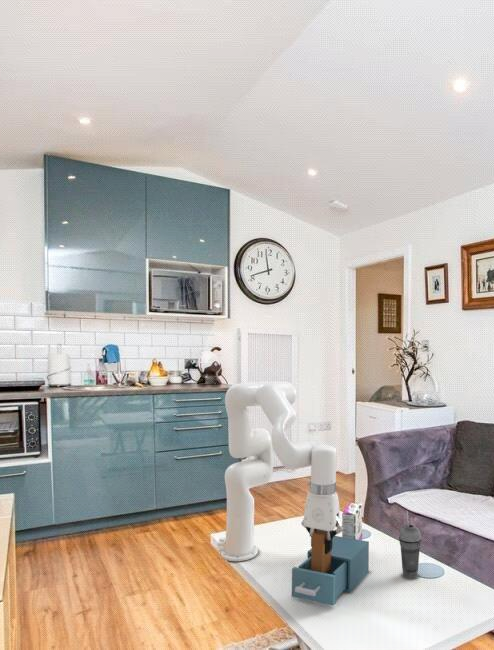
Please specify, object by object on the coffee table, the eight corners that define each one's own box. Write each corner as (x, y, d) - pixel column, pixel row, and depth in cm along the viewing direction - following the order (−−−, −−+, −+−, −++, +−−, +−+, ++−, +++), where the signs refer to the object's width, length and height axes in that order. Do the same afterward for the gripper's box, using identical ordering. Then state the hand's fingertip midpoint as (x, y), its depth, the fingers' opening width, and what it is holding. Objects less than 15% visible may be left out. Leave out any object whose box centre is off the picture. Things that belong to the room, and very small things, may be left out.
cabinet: (350, 592, 145) (350, 559, 146) (307, 583, 150) (307, 551, 151) (368, 572, 158) (368, 541, 159) (328, 564, 164) (328, 534, 165)
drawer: (325, 614, 132) (326, 584, 132) (283, 604, 137) (283, 575, 137) (352, 584, 148) (353, 557, 149) (313, 576, 153) (314, 550, 154)
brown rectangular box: (310, 575, 143) (311, 533, 143) (320, 566, 148) (321, 526, 149) (321, 577, 141) (322, 535, 142) (330, 569, 147) (331, 528, 148)
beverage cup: (415, 583, 151) (415, 516, 152) (394, 577, 155) (394, 512, 156) (425, 574, 157) (425, 510, 159) (405, 568, 161) (405, 506, 162)
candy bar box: (348, 549, 176) (349, 502, 177) (362, 550, 175) (362, 503, 176) (341, 562, 165) (341, 512, 166) (355, 564, 164) (356, 513, 165)
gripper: (292, 487, 146) (290, 550, 145) (342, 495, 140) (341, 561, 138) (305, 481, 153) (303, 541, 152) (353, 488, 147) (352, 551, 145)
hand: (321, 550), depth 145 cm, fingers closed on brown rectangular box, 3 cm apart
